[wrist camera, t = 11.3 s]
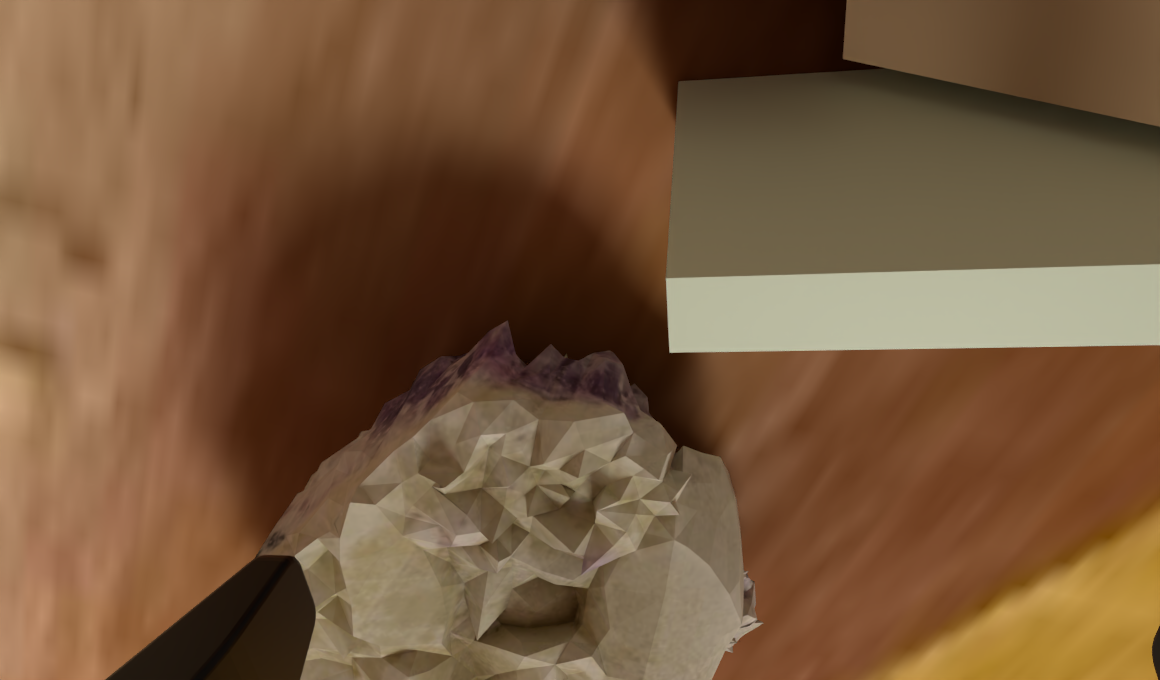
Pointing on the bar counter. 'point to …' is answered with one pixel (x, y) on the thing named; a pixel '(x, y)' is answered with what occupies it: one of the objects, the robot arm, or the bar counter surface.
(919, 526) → the bar counter surface
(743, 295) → the pale green open box
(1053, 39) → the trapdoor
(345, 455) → the geode
